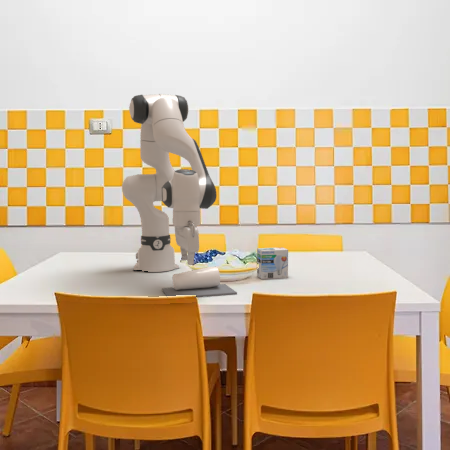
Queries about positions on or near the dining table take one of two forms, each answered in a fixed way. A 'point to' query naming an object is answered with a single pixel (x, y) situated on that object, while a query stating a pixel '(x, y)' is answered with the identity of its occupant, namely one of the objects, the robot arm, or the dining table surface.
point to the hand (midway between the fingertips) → (187, 262)
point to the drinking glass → (197, 279)
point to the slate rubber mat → (201, 291)
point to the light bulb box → (272, 263)
